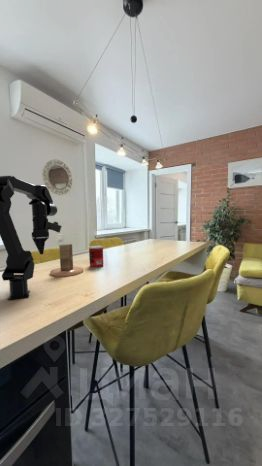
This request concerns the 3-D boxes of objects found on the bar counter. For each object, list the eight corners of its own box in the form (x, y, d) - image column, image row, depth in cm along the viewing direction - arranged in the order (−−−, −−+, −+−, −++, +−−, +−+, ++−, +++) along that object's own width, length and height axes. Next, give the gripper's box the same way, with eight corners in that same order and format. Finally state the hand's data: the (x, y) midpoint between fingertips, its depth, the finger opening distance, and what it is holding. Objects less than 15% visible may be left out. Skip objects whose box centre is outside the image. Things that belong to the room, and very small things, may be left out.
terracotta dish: (85, 274, 107) (85, 271, 107) (50, 278, 102) (50, 275, 101) (80, 267, 122) (80, 265, 122) (50, 270, 116) (49, 268, 116)
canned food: (105, 264, 128) (104, 245, 127) (100, 267, 121) (99, 247, 120) (93, 264, 130) (92, 245, 129) (87, 267, 123) (86, 247, 122)
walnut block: (68, 271, 109) (67, 245, 108) (60, 271, 110) (59, 245, 109) (73, 269, 113) (72, 244, 112) (65, 268, 114) (64, 244, 114)
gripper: (61, 215, 87) (63, 254, 88) (58, 215, 104) (60, 248, 106) (30, 215, 83) (32, 256, 84) (32, 216, 100) (34, 250, 102)
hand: (41, 252), depth 94 cm, fingers open, 9 cm apart
